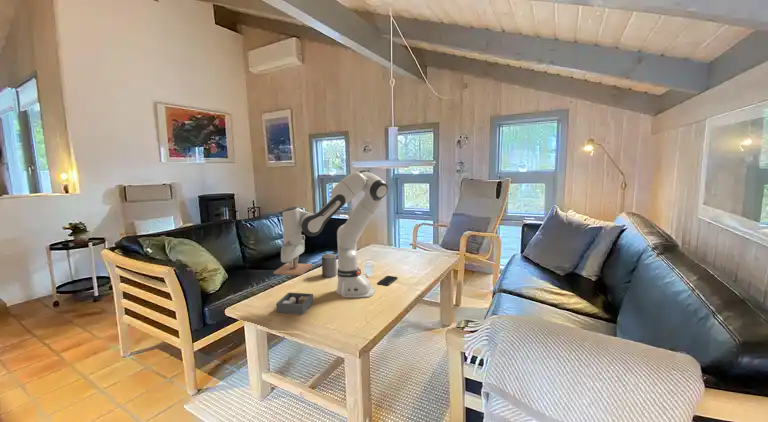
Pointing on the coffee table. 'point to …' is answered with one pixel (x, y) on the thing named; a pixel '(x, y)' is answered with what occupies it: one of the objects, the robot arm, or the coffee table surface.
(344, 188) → the robot arm
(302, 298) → the birch cube
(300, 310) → the storage box
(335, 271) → the pillar candle
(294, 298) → the off-white ball
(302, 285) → the coffee table surface
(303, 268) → the lid
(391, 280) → the phone
